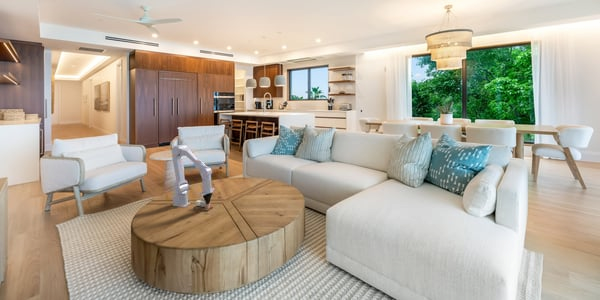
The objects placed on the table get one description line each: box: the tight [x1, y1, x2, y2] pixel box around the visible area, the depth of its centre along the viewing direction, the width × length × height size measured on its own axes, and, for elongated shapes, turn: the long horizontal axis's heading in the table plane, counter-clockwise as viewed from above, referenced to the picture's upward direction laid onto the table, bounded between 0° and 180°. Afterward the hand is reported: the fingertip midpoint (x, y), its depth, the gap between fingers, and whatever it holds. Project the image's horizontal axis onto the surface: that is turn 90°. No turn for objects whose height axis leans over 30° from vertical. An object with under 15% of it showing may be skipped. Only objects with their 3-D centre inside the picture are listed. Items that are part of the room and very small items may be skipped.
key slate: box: [200, 200, 206, 207], centre depth 207 cm, size 3×3×3 cm
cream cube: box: [195, 199, 202, 206], centre depth 208 cm, size 3×3×3 cm
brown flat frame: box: [193, 205, 214, 212], centre depth 207 cm, size 12×7×1 cm, turn 72°
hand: (207, 203), depth 205 cm, fingers closed, pressing on key terracotta
